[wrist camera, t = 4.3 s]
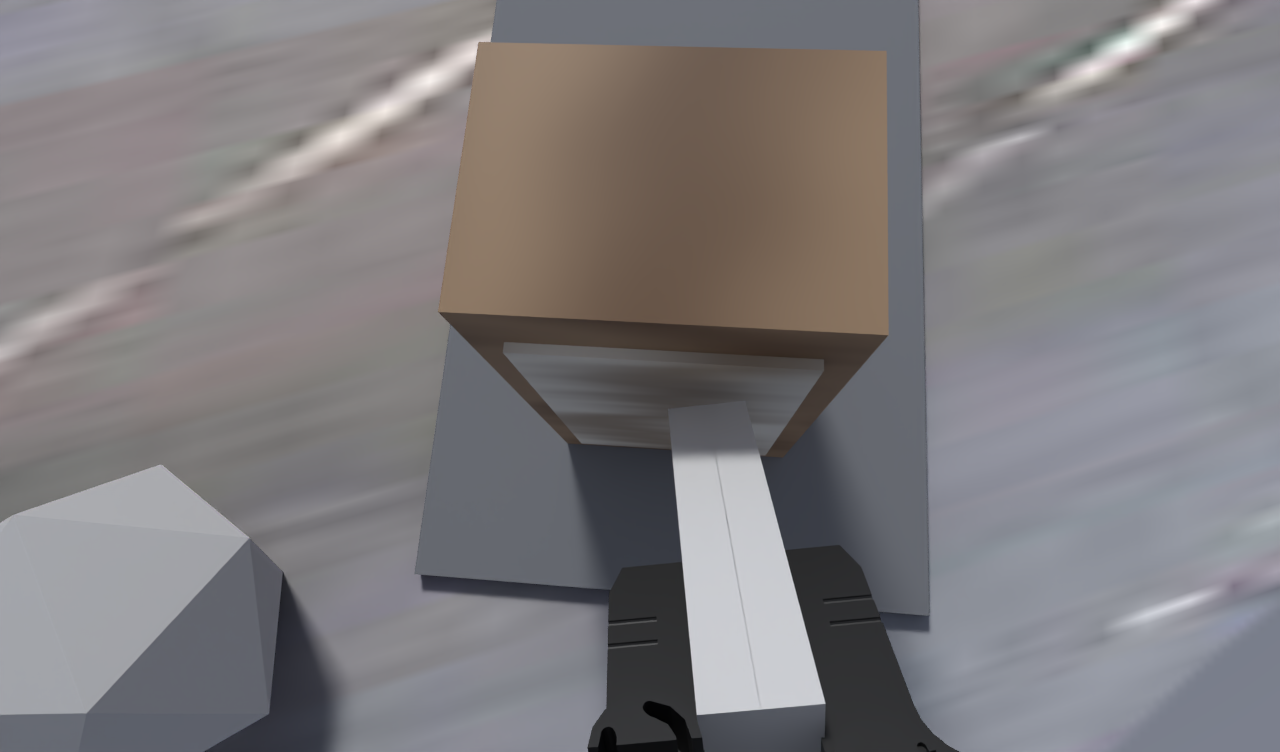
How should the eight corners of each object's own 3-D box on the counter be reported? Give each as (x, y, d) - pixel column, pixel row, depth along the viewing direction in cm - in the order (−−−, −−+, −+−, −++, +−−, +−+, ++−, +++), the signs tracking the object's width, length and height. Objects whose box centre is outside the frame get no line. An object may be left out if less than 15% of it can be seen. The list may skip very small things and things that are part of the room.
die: (204, 440, 26) (-198, 514, 19) (349, 462, 22) (-113, 576, 14) (230, 657, 27) (-142, 815, 20) (374, 726, 22) (-44, 974, 15)
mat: (420, 573, 24) (414, 574, 24) (507, -41, 30) (503, -51, 29) (924, 614, 23) (929, 615, 22) (913, -35, 29) (917, -46, 28)
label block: (567, 449, 24) (436, 323, 12) (581, 300, 26) (478, 42, 13) (782, 463, 24) (888, 347, 11) (787, 310, 25) (886, 50, 12)
